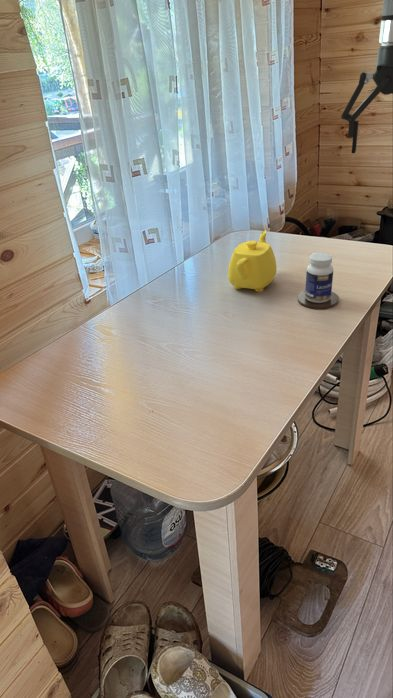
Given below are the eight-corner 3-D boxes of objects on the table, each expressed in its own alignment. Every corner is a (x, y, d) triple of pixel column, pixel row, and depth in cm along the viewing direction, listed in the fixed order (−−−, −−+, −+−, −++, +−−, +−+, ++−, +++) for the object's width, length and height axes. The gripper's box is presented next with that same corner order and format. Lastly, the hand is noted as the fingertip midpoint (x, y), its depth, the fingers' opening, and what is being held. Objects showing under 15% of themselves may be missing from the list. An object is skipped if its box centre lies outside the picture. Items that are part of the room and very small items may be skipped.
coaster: (340, 292, 118) (340, 290, 118) (336, 311, 111) (336, 308, 110) (301, 289, 121) (301, 287, 120) (294, 307, 114) (294, 304, 113)
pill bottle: (318, 306, 112) (320, 263, 107) (299, 297, 116) (301, 256, 111) (336, 298, 114) (340, 256, 109) (317, 289, 119) (320, 249, 113)
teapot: (245, 265, 135) (244, 226, 129) (286, 270, 130) (287, 229, 124) (218, 295, 121) (215, 252, 115) (262, 302, 117) (262, 257, 111)
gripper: (463, 38, 105) (443, 148, 116) (337, 46, 113) (330, 148, 124) (466, 40, 99) (445, 155, 110) (333, 48, 107) (326, 155, 118)
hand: (384, 152), depth 117 cm, fingers open, 13 cm apart
